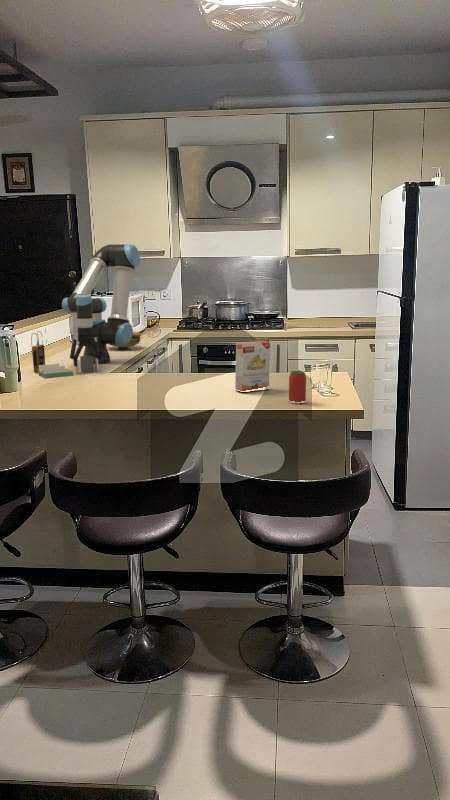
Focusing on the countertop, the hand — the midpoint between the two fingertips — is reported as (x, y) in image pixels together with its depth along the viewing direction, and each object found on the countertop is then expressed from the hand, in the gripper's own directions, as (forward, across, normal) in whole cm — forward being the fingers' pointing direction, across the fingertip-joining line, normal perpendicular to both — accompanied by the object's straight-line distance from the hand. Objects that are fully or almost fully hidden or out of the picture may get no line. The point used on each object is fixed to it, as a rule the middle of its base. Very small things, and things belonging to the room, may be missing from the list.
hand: (87, 371), depth 308 cm
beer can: (0, -42, +112) cm, 119 cm away
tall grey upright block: (0, -42, -100) cm, 109 cm away
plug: (0, 0, 0) cm, 0 cm away
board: (0, +16, 0) cm, 16 cm away
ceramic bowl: (0, -51, -68) cm, 85 cm away
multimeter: (0, +16, -14) cm, 21 cm away
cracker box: (0, -41, +84) cm, 93 cm away
